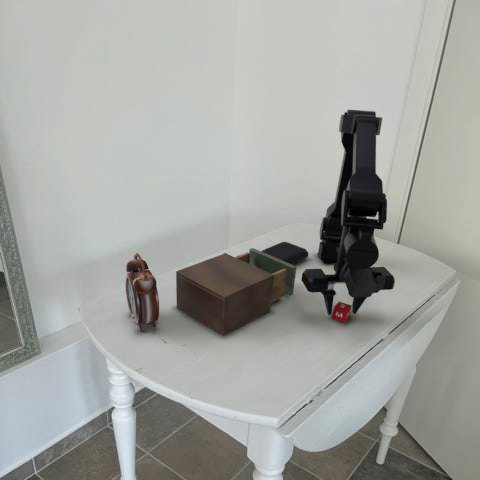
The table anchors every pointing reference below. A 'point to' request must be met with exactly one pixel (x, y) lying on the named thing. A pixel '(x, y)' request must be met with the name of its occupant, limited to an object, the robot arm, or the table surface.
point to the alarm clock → (141, 292)
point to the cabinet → (224, 293)
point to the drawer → (273, 271)
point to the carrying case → (287, 252)
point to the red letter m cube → (341, 311)
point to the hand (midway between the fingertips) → (341, 313)
